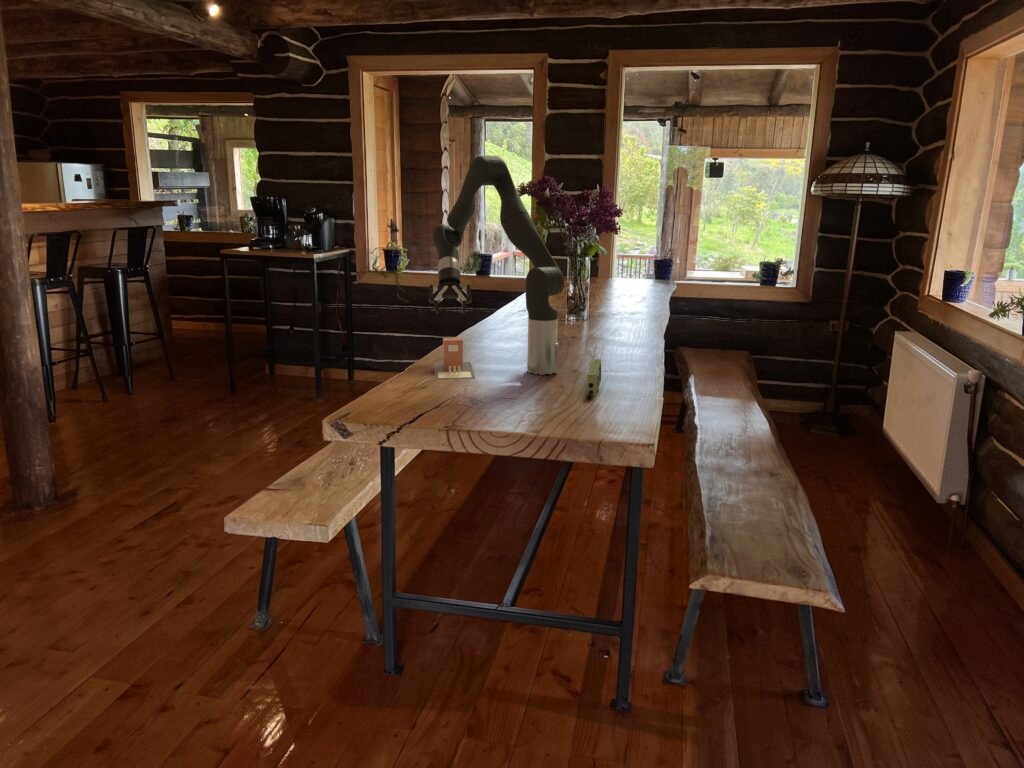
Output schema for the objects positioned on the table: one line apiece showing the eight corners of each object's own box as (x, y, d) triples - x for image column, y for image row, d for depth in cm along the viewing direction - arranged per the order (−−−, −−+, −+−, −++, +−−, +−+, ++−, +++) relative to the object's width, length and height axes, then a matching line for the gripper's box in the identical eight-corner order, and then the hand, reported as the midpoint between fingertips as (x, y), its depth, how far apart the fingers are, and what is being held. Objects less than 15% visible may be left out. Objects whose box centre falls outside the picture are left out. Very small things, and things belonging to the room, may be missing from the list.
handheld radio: (602, 380, 224) (595, 402, 201) (591, 380, 225) (583, 402, 201) (602, 359, 223) (595, 378, 199) (591, 358, 223) (583, 378, 200)
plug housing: (461, 364, 236) (461, 337, 234) (462, 368, 231) (462, 340, 229) (443, 365, 235) (443, 337, 233) (443, 368, 231) (443, 340, 228)
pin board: (470, 364, 240) (470, 353, 239) (475, 381, 219) (475, 369, 218) (433, 365, 239) (433, 353, 238) (435, 382, 217) (435, 370, 216)
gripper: (428, 266, 244) (429, 305, 236) (470, 266, 246) (472, 305, 238) (428, 279, 251) (428, 318, 243) (469, 280, 253) (471, 318, 245)
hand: (450, 312), depth 241 cm, fingers open, 8 cm apart
